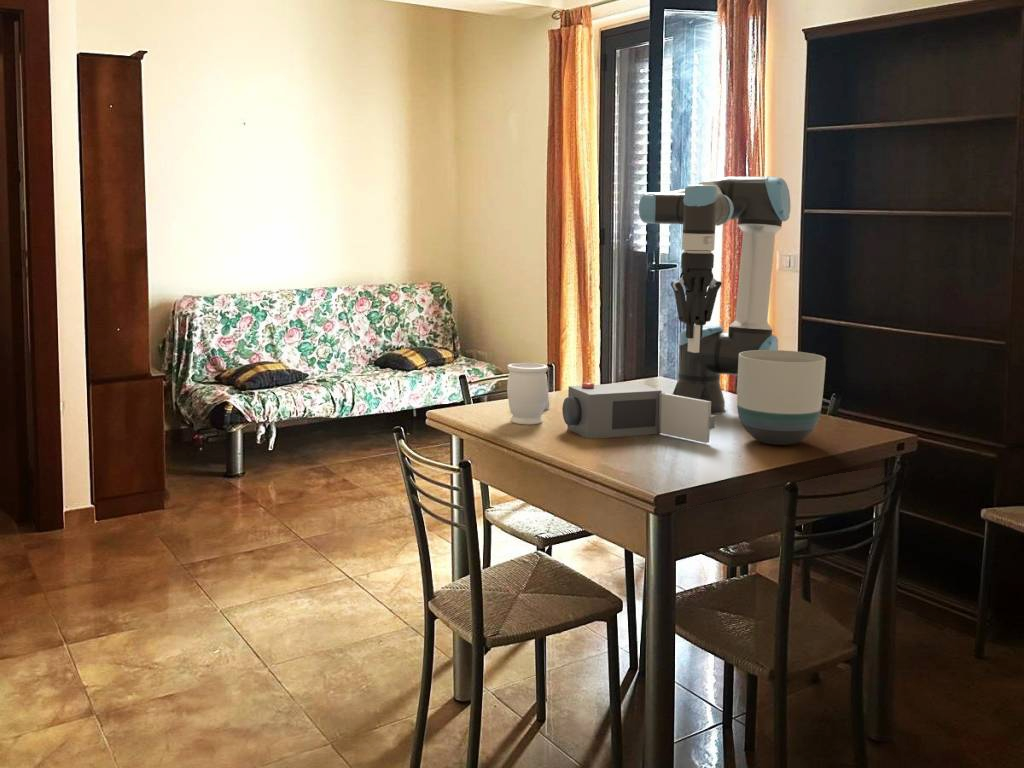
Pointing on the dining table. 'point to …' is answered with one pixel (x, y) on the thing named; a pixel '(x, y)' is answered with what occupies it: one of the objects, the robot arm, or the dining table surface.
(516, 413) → the jar
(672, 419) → the door
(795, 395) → the planter
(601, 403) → the camera body
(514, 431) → the dining table surface
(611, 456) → the dining table surface
